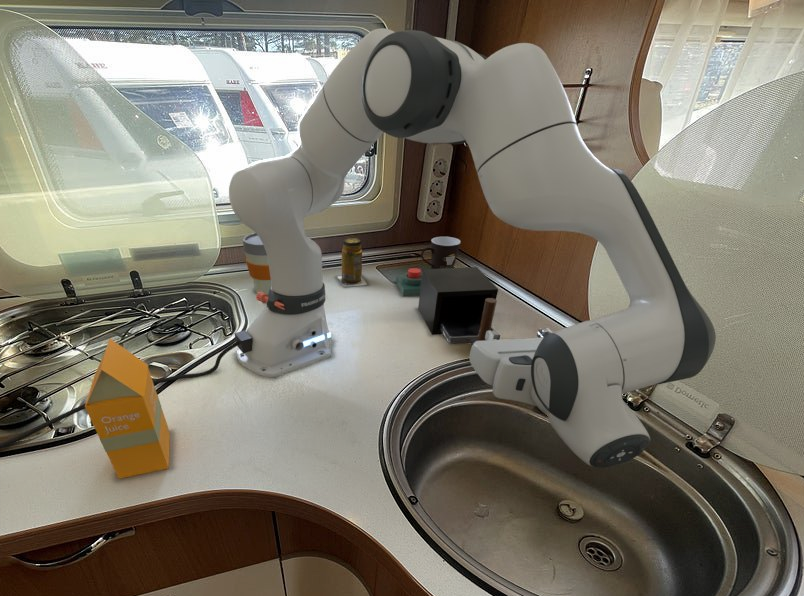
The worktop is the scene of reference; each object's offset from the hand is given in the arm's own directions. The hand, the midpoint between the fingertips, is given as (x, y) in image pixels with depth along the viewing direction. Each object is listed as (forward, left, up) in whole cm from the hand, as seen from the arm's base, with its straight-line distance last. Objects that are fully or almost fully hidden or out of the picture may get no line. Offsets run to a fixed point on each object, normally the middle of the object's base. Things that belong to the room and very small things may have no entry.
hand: (515, 332), depth 74 cm
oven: (+20, +24, -14) cm, 34 cm away
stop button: (+29, +43, -10) cm, 53 cm away
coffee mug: (+44, +45, -14) cm, 64 cm away
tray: (+12, +14, -12) cm, 22 cm away
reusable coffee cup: (0, +73, -14) cm, 74 cm away
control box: (+29, +43, -14) cm, 53 cm away
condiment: (+21, +60, -14) cm, 65 cm away
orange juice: (-56, +34, -14) cm, 67 cm away
